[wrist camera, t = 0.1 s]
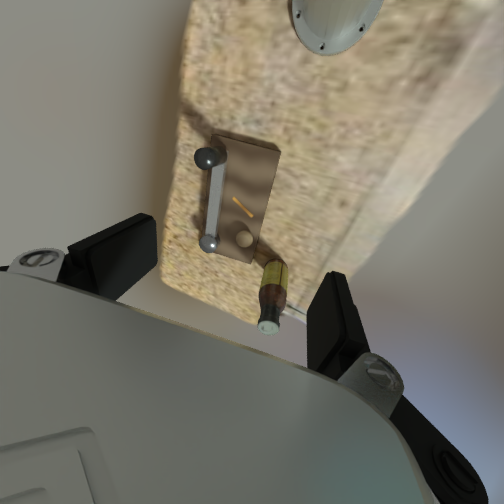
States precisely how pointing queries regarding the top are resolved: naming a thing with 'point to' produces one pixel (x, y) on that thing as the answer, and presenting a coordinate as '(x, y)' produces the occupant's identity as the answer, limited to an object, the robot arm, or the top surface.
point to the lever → (212, 192)
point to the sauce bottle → (272, 296)
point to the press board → (242, 196)
